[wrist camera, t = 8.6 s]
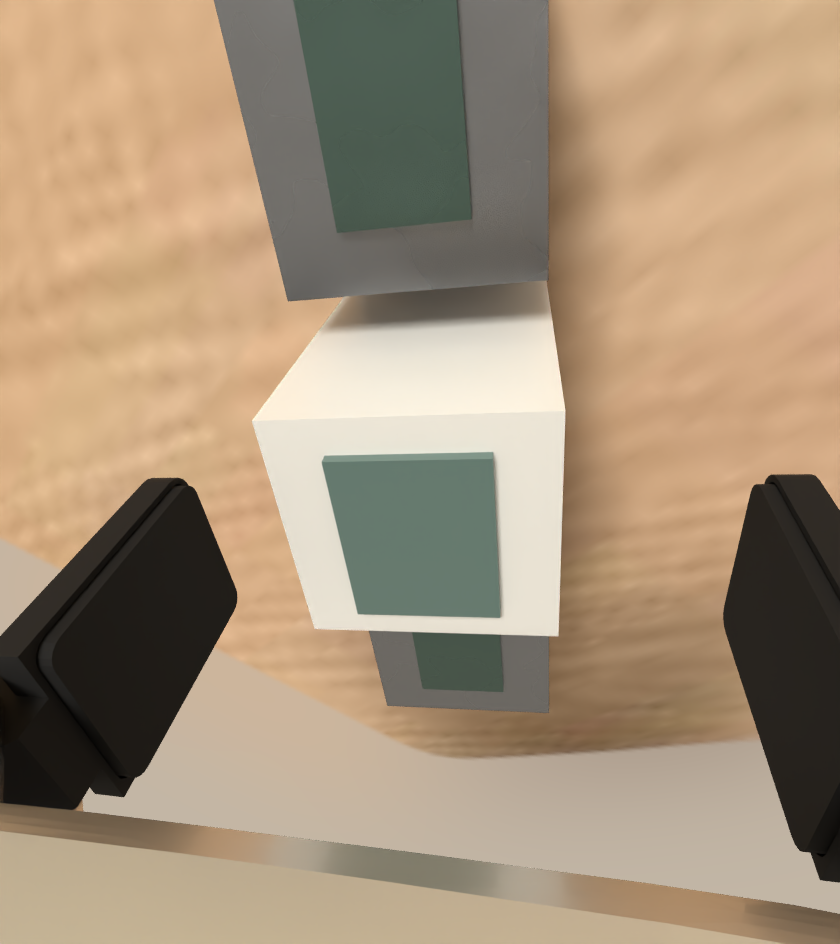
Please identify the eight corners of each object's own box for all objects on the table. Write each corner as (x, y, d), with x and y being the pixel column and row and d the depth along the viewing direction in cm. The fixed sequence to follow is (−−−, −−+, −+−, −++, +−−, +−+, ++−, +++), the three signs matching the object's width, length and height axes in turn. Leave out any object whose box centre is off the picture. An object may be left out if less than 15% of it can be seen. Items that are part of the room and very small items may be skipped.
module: (543, 264, 15) (566, 417, 9) (542, 430, 18) (559, 644, 11) (358, 277, 16) (247, 427, 10) (383, 434, 19) (312, 636, 12)
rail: (534, -126, 12) (548, -268, 7) (541, 579, 23) (549, 728, 18) (304, -80, 13) (164, -175, 8) (416, 578, 24) (388, 720, 19)
